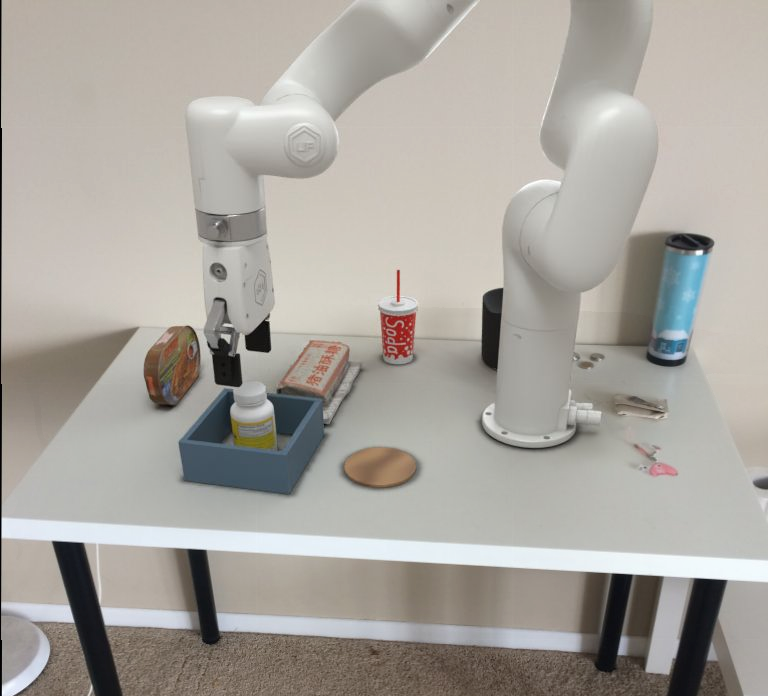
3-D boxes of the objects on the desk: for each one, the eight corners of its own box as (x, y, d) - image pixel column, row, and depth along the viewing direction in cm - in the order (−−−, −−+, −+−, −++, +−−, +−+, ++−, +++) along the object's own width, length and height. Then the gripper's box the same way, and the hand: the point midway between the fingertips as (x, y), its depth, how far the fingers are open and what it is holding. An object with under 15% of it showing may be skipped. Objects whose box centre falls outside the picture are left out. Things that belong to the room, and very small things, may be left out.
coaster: (422, 454, 112) (422, 451, 112) (407, 491, 105) (407, 489, 104) (355, 446, 114) (354, 443, 113) (335, 482, 106) (335, 479, 106)
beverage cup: (370, 359, 135) (369, 271, 127) (394, 346, 139) (394, 260, 131) (402, 370, 132) (402, 280, 124) (425, 356, 136) (427, 268, 128)
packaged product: (298, 334, 131) (361, 340, 130) (299, 363, 134) (362, 370, 132) (257, 387, 117) (328, 394, 115) (260, 418, 120) (330, 426, 118)
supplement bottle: (243, 444, 114) (235, 376, 108) (283, 447, 113) (277, 379, 108) (230, 466, 110) (221, 396, 104) (272, 469, 109) (265, 400, 103)
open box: (324, 435, 116) (322, 398, 113) (289, 494, 104) (286, 455, 101) (229, 424, 119) (224, 387, 115) (184, 480, 107) (177, 441, 104)
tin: (167, 415, 121) (158, 360, 116) (146, 414, 121) (136, 358, 116) (205, 369, 133) (197, 316, 128) (185, 367, 133) (177, 315, 128)
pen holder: (535, 347, 138) (541, 286, 133) (544, 373, 131) (551, 310, 125) (476, 348, 139) (479, 287, 133) (481, 374, 131) (485, 310, 125)
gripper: (234, 250, 87) (247, 403, 97) (290, 204, 101) (296, 342, 110) (165, 244, 88) (185, 395, 98) (229, 199, 102) (241, 336, 112)
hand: (244, 367), depth 104 cm, fingers open, 9 cm apart
